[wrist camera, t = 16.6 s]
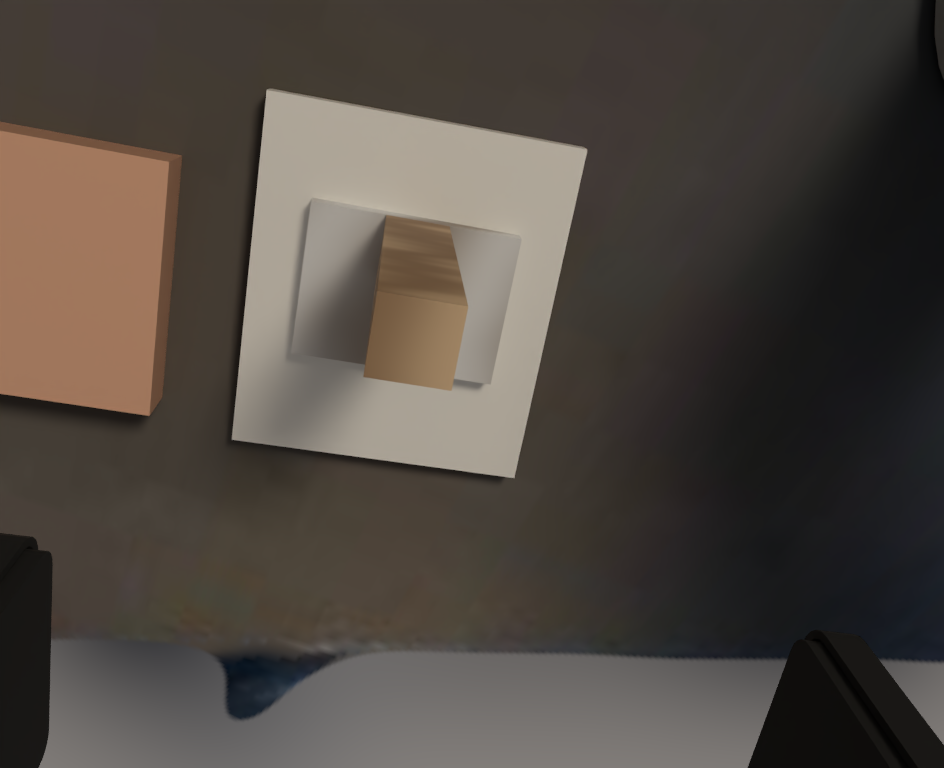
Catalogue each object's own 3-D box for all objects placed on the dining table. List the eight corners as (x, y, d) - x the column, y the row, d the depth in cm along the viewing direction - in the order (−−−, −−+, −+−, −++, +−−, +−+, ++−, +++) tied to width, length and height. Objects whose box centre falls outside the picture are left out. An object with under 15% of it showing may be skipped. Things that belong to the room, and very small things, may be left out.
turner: (519, 235, 35) (571, 324, 24) (488, 377, 37) (523, 520, 26) (312, 197, 34) (267, 272, 23) (293, 346, 36) (243, 481, 25)
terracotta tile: (168, 161, 32) (149, 415, 35) (184, 154, 34) (164, 394, 37) (-129, 106, 31) (-120, 376, 34) (-94, 102, 33) (-89, 356, 36)
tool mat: (582, 146, 35) (587, 149, 34) (511, 467, 39) (514, 478, 38) (270, 88, 33) (266, 89, 32) (236, 429, 38) (231, 439, 37)
